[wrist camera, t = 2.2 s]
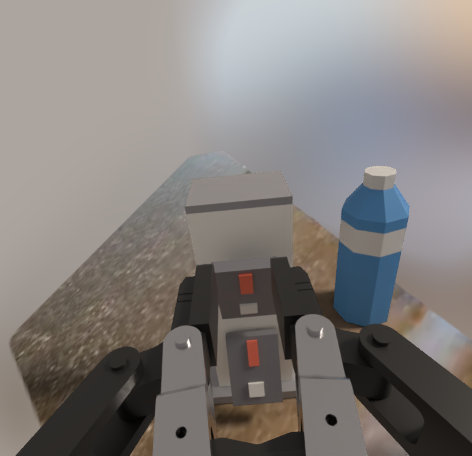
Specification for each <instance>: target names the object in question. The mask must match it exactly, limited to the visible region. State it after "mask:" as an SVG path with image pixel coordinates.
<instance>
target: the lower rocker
mask: <svg viewBox="0 0 472 456" xmlns="http://www.w3.org/2000/svg"><path fill="white" fill-rule="evenodd" d="M225 340H226V348H227V357H228V366H229V375H230V383H231V392H232V401H233V406H240V405H252V404H264V403H275V402H283V397H282V384H281V371H280V358H279V345H278V333H277V329H265V330H254V331H243V332H232V333H226V337H225Z"/></svg>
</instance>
